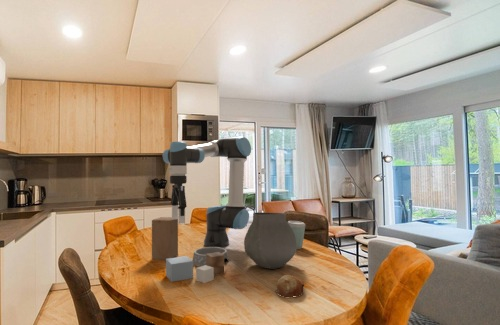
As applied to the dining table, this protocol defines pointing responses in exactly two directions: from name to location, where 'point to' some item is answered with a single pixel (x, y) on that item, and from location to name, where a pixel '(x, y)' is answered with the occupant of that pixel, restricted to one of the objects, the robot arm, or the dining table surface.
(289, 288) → the bread roll
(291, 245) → the ceramic pot
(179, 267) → the slate block
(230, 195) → the robot arm
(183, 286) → the dining table surface
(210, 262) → the walnut block
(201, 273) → the grey cube
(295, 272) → the dining table surface
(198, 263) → the dog bowl
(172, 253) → the wooden block
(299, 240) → the disposable coffee cup
